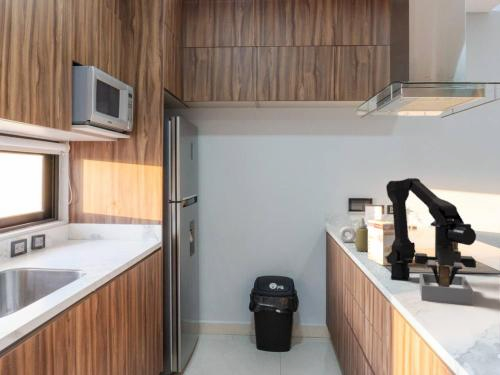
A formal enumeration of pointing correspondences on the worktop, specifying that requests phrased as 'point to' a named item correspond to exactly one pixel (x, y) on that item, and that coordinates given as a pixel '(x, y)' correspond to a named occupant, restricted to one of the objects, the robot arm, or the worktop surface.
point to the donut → (350, 230)
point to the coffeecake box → (380, 240)
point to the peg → (444, 275)
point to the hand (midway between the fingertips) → (443, 284)
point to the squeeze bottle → (361, 237)
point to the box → (445, 290)
